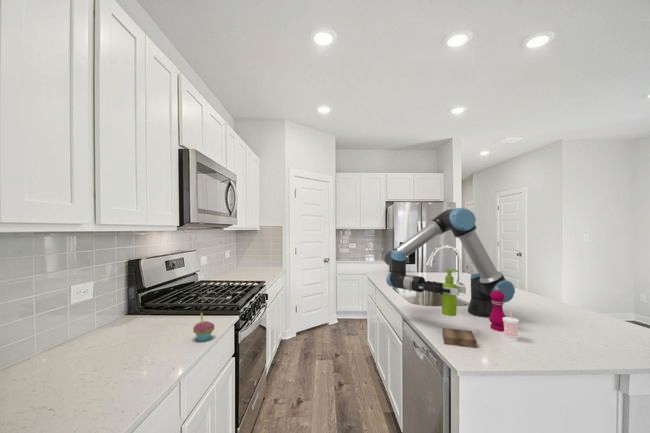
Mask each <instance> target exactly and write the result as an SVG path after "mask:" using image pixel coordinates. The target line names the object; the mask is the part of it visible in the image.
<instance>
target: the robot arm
mask: <svg viewBox="0 0 650 433" xmlns="http://www.w3.org/2000/svg"><path fill="white" fill-rule="evenodd" d="M476 220H477V218H476V216H475V214H474V213H473V212H472V211H471V210H470V209H468V208H465V207H464V208H463V207H457V208H452V209H446V210H444V211H442V212H441V213H439V214H437V216H436V217H434V218H433V219H431V220H430V221H429V224H427V225H426V226H424V227H423V228H422V229H421V230H419V231H418V232H416V233H414V234H413V235H412V236H411V237H409V238H407V240H404V242H402V243H400V244H399V245H397V246H396V247H395V248H393V249H392V250H391V251H387V252H386V253H384V254H383V257H382V258H383V262H384V263H385V264H386V265H388V266H390V267H391V268H390V269H391V271H390V272H388V273H387V275H386V278H385V281H386V284H387V286H389V287H391V288H394V289H400V290H406V291H408V292H416V293H424V291H425V292H431V293H436V294H440V295H441V296H442V295H443V293H446V294H451V295H456V297H457V296H460V294H467V293H466V292H467V290H466V289H467V288H466V286H460V285H456V289H455V288H449V287H442V284H444V283H445V282H437V281H433V280H432V281H430V280H427V281H426V279H425V278H424V276H418V275H412V274H407V257H409V256H410V255H411V254H413V253H414V252H416V251H417V250H418V249H420V248H421V247H423V246H424V245H425V244H427V243H428V242H430V241H431V240H432V239H434V238H435V237H436V236H438V235H441V236H442V235H443V234H444V233H447V232H449V231H451V233H452V234H453V236H454V237H455V238H457V239H459V240H460V242H461V244H462V246H463V248H464V250H465V251H466V253H467V255H468V257H469V259H470V260H471V262H472V264H473V265H474V267H475V270H476V271H477V273H475V272H473V273H471V275H470V301H469V304H468V307H467V312H469V313H468V314H470V313H471V314H470V315H472V314H474V315H473V316H476V315H478V316H477V317H481V316H485V317H484V318H489V317H490V314H491V312H492V309H493V304H492V298H491V297H490V294H491V292H492V291H496V290H495V288H497V287H498V288H499V291H501V292H502V293H503V294H504V296H505V298H504V300H503V304H505V303H508V302H510V301H511V300H512V299H513V298H514V296H515V293H516V292H515V291H516V288H515V286H514V284H513V283H512V282H511V281H510V280H507V279H506V277H505V276H504V274H503V272H502V271H499V270H498V269H497V268H496V266H495V264H494V262H493V260H492V259H491V257H490V256H489V254H488V252H487V250H486V248H485V246H484V245H483V243H482V242H481V239H480V238H479V235H478V234H477V232H476V230H477V226H476Z"/></svg>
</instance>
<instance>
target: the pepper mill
mask: <svg viewBox="0 0 650 433" xmlns="http://www.w3.org/2000/svg"><path fill="white" fill-rule="evenodd" d="M495 290H496V291H492V292H491V294H490V297H491V298H492V304H493V309H492V312H491V314H490V317H488V319H489V322H490V329H491V328H492V329H491V330H493V329H494V330H493V331H495V330H497V331H496V332H504V322H503V317H506V315H505V313H504V310H503V305H504V303H503V300H504V298H505V296H504V294H503V293H502V292H501V291H499V288H498V287H497V288H495Z"/></svg>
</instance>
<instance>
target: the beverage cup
mask: <svg viewBox="0 0 650 433" xmlns="http://www.w3.org/2000/svg"><path fill="white" fill-rule="evenodd" d="M503 322H504V331H503V332H504V334H503V335H504V340H505V341H508V342H510V341H511V342H510V343H517V342H518V338H519V337H518V336H519V322H520V319H518V318H515V317H512V307H510V306H509V316H505V317H503Z"/></svg>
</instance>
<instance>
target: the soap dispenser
mask: <svg viewBox="0 0 650 433" xmlns="http://www.w3.org/2000/svg"><path fill="white" fill-rule="evenodd" d="M445 271H447V274H446V276H444V277H445V278H444V280H445V281H444V282H443V283H444V284H442V287H449V288H455V289H456V286H457V284H454V276H452V272H456V273H459V272H460V270H458V269H453V268H446V269H445ZM441 313H442V315H444V316H449V317H455V316H457V295H451V294H446V293H443V295H441Z"/></svg>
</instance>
